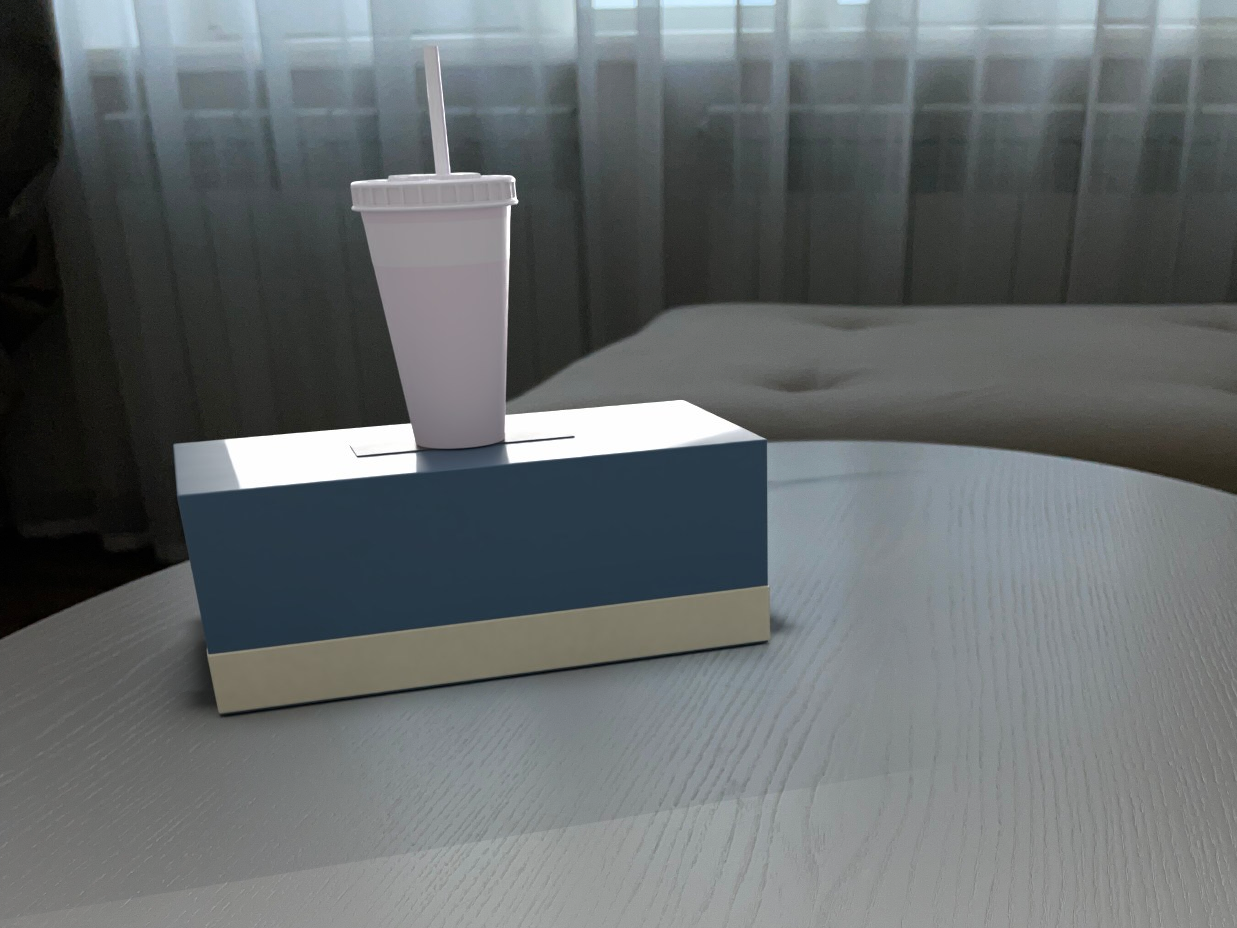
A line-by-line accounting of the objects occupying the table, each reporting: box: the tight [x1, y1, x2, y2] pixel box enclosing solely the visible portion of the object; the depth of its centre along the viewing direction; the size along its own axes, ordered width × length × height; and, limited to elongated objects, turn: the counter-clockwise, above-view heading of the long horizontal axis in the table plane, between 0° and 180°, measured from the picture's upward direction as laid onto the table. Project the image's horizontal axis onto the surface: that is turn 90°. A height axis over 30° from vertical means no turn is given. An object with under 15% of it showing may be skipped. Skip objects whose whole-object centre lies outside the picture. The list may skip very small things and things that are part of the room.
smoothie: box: [349, 45, 519, 449], centre depth 57 cm, size 6×6×14 cm
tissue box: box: [172, 399, 771, 716], centre depth 62 cm, size 23×11×8 cm, turn 108°
